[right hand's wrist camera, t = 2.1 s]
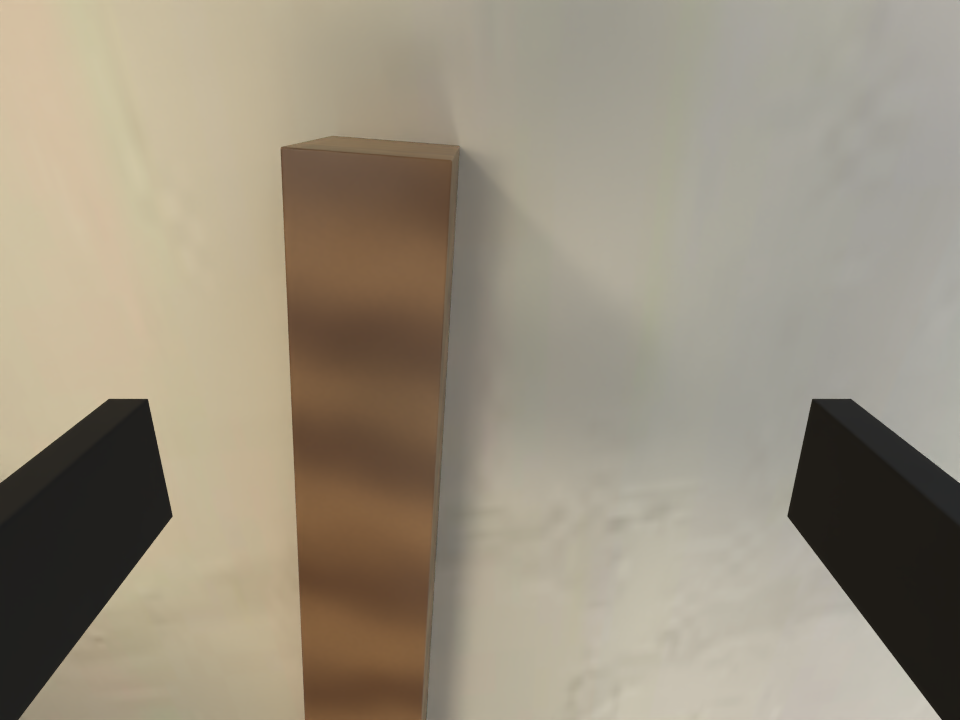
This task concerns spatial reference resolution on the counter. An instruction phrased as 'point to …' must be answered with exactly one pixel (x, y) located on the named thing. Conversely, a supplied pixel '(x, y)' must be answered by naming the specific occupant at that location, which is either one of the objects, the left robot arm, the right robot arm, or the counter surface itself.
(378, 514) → the bar
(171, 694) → the counter surface
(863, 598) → the right robot arm
